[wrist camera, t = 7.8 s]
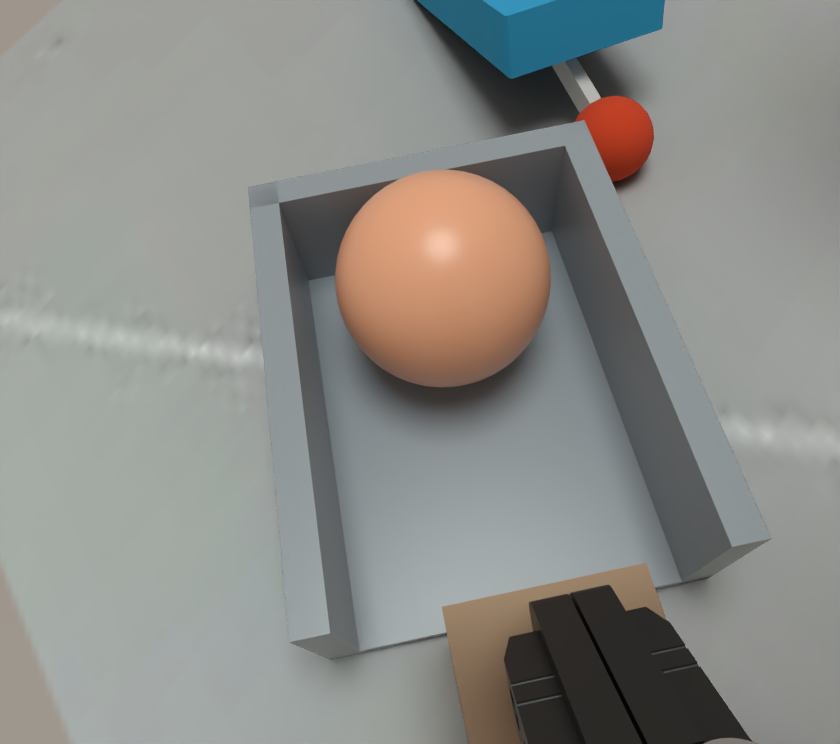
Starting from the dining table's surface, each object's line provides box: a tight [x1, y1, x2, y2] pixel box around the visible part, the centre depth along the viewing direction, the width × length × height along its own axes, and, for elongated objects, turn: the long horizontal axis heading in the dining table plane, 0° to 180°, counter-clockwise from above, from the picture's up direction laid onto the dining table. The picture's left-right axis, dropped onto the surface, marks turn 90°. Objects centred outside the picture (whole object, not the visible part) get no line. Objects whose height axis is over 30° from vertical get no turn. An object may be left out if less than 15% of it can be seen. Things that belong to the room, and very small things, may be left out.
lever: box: [417, 0, 665, 182], centre depth 31 cm, size 7×7×18 cm
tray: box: [248, 120, 772, 659], centre depth 22 cm, size 15×12×5 cm
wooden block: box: [442, 563, 666, 744], centre depth 16 cm, size 4×4×7 cm
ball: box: [335, 170, 551, 388], centre depth 22 cm, size 7×7×7 cm
